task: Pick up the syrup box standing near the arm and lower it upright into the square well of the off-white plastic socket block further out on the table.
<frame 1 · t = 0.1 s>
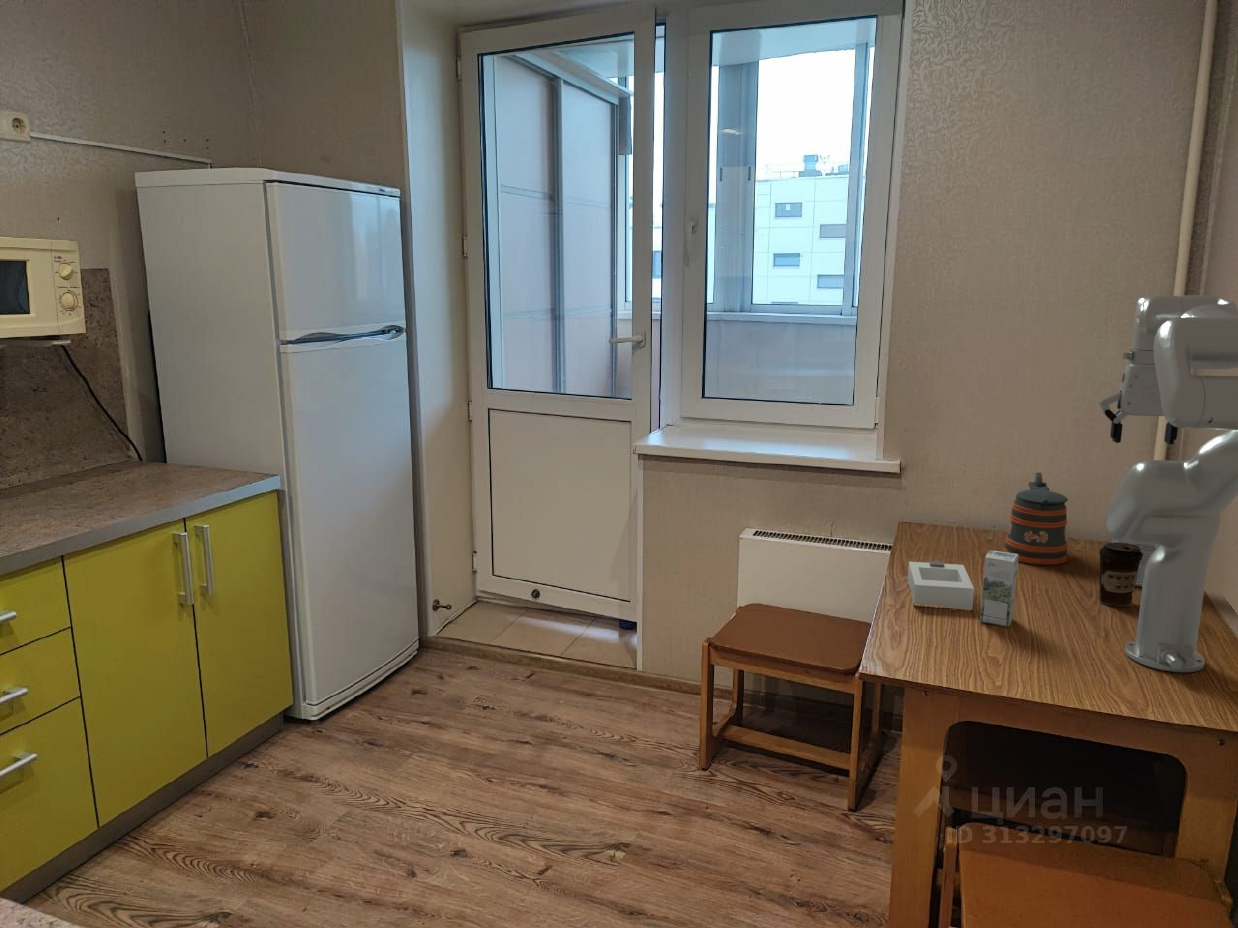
hand: (1142, 442, 177), 37 cm above the table, tool pointing down, fingers open, 9 cm apart
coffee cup: (1115, 603, 190), on the table
syrup box: (996, 621, 181), on the table
socket block: (938, 595, 196), on the table
beer stein: (1032, 555, 224), on the table
juice carton: (1132, 581, 203), on the table
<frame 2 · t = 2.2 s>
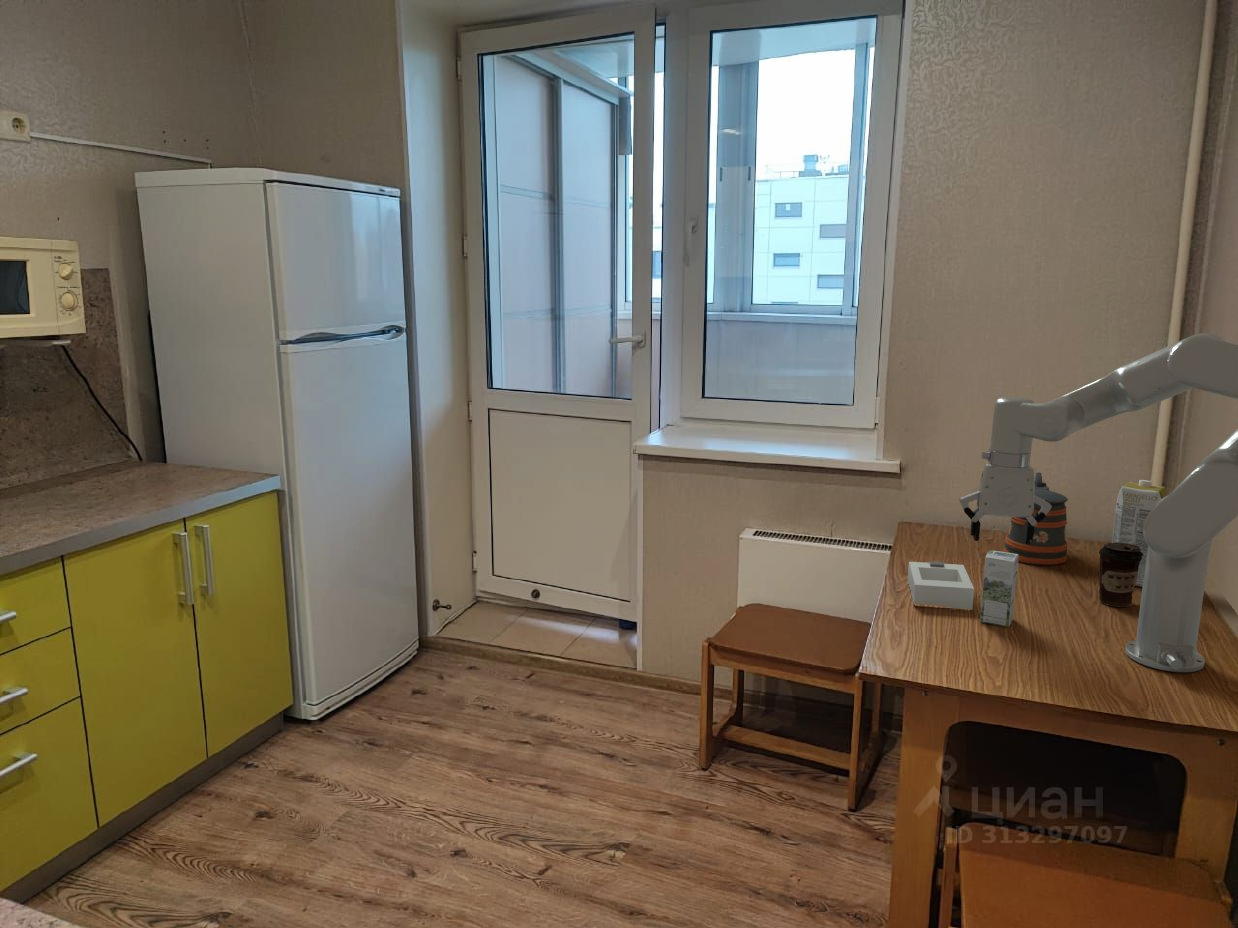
hand: (1000, 540, 178), 17 cm above the table, tool pointing down, fingers open, 9 cm apart
nothing on the table moved.
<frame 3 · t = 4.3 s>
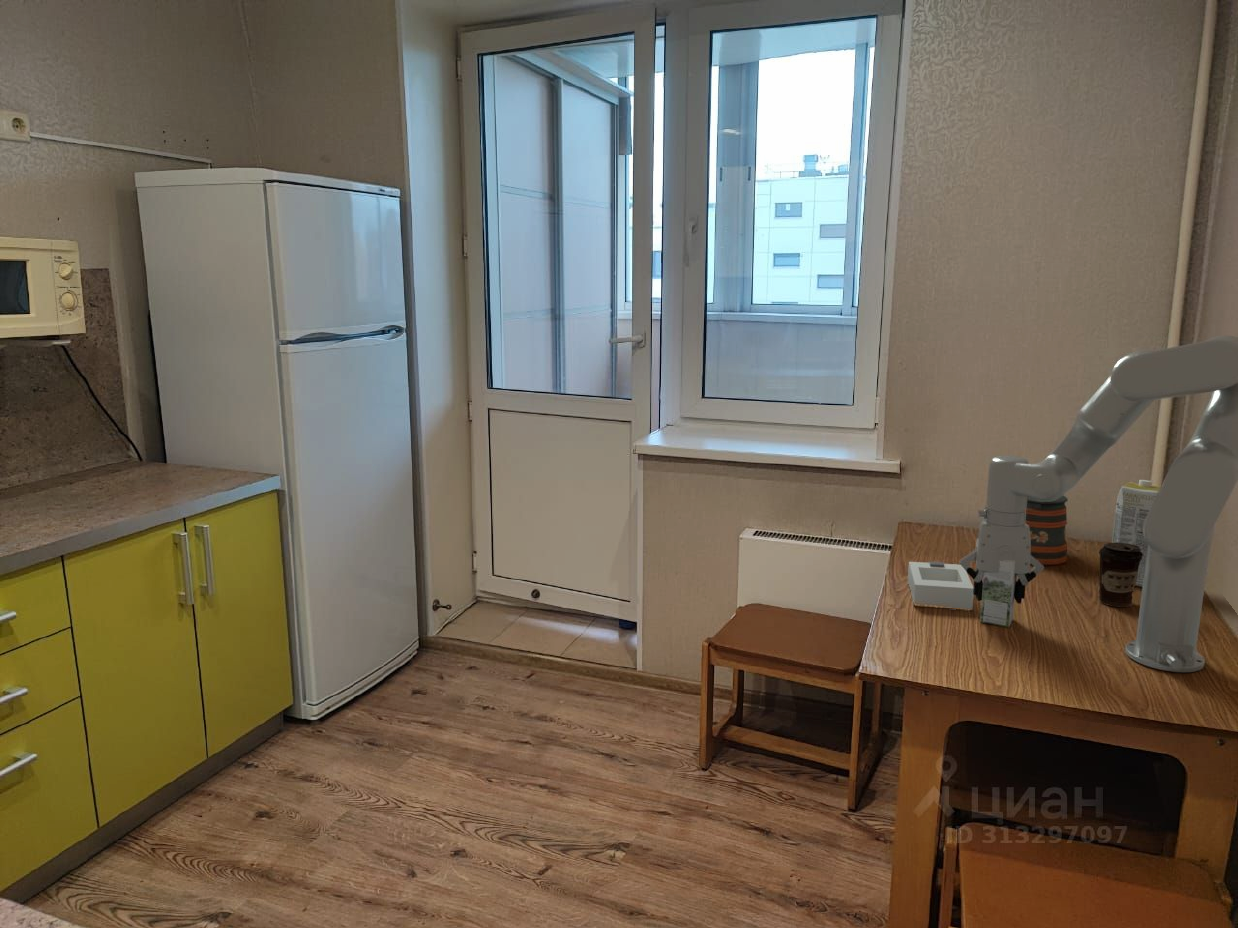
hand: (998, 599, 180), 5 cm above the table, tool pointing down, fingers closed on syrup box, 7 cm apart
syrup box: (996, 621, 181), on the table, touching gripper
everything else where it was.
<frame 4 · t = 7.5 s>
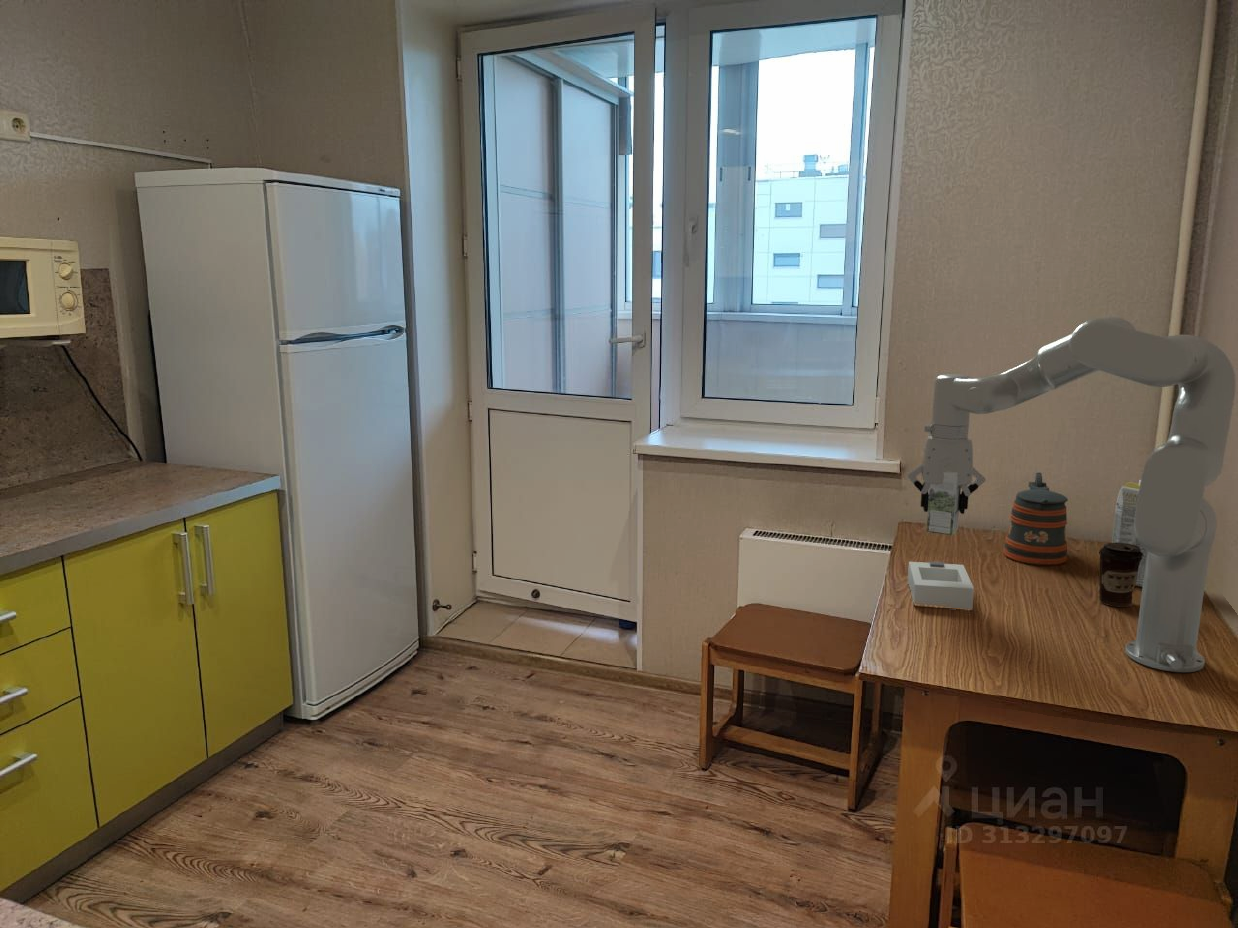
hand: (943, 510, 192), 20 cm above the table, tool pointing down, fingers closed on syrup box, 7 cm apart
syrup box: (941, 532, 193), point 15 cm above the table, touching gripper
everything else where it was.
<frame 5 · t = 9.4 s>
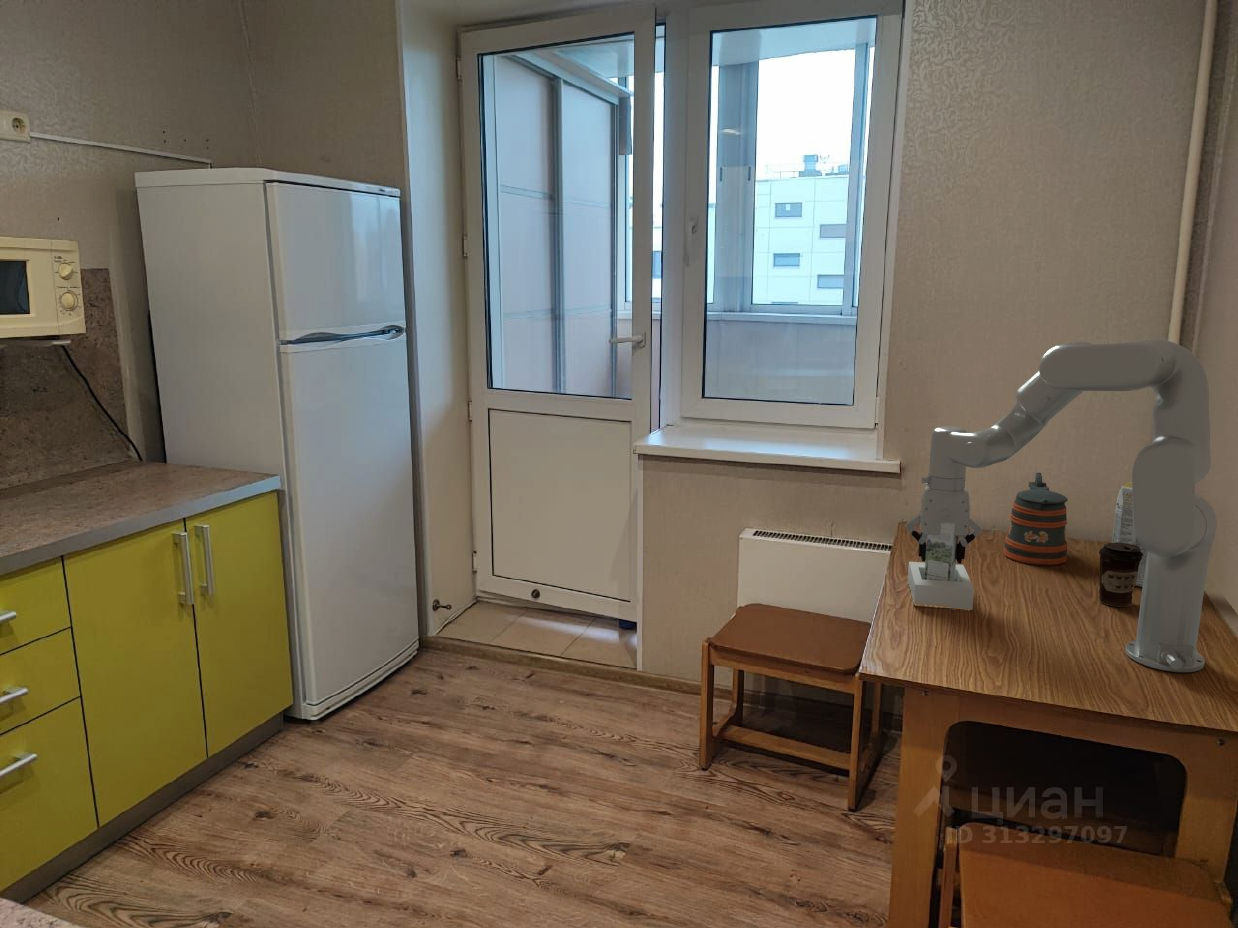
hand: (940, 560, 194), 8 cm above the table, tool pointing down, fingers closed on syrup box, 7 cm apart
syrup box: (939, 581, 195), point 3 cm above the table, touching gripper
everything else where it was.
when the fingers open (7 cm above the table, at t = 10.7 s): syrup box drops 2 cm, resting in socket block.
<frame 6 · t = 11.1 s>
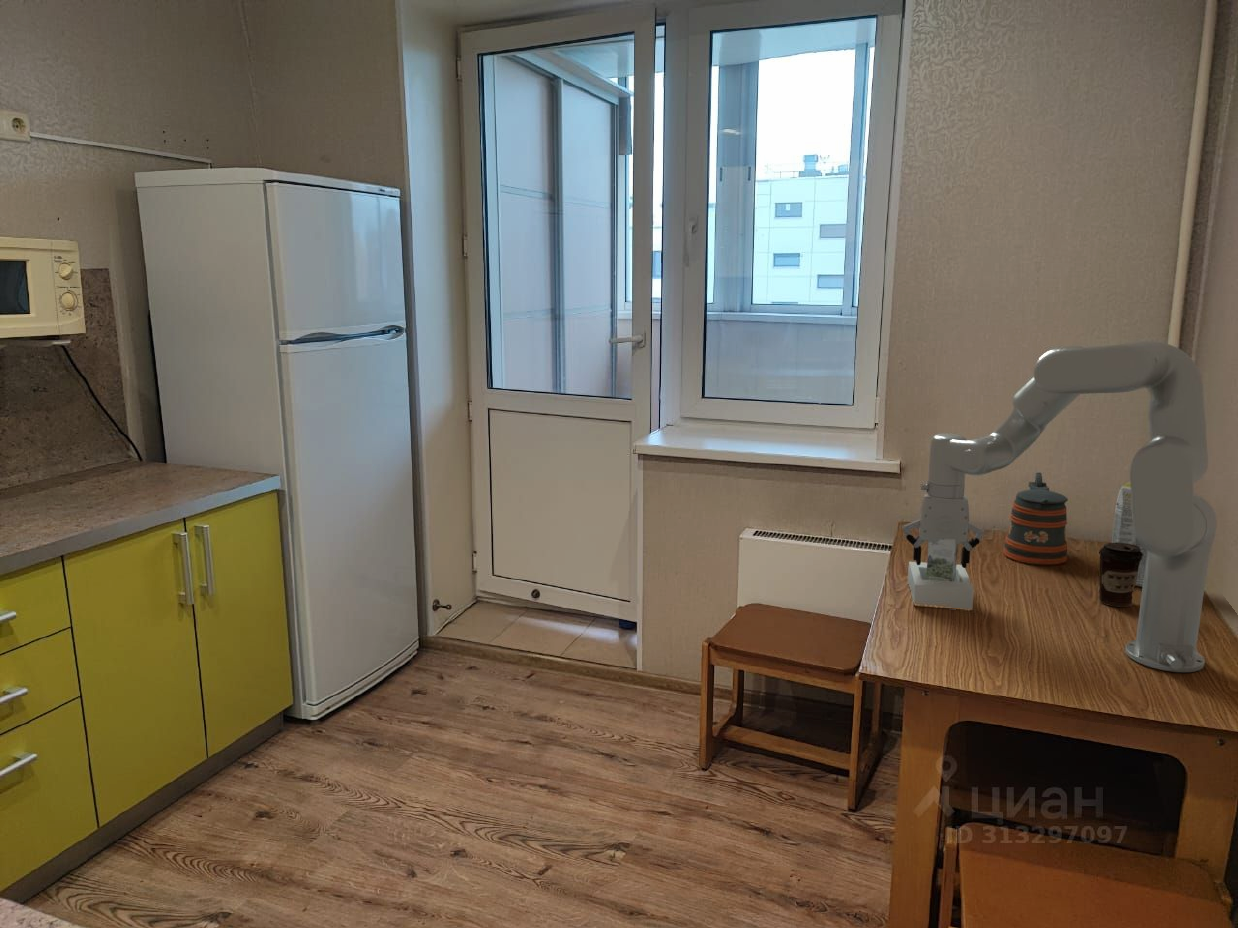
hand: (940, 564, 194), 7 cm above the table, tool pointing down, fingers open, 9 cm apart
syrup box: (939, 596, 196), resting in socket block
everything else where it was.
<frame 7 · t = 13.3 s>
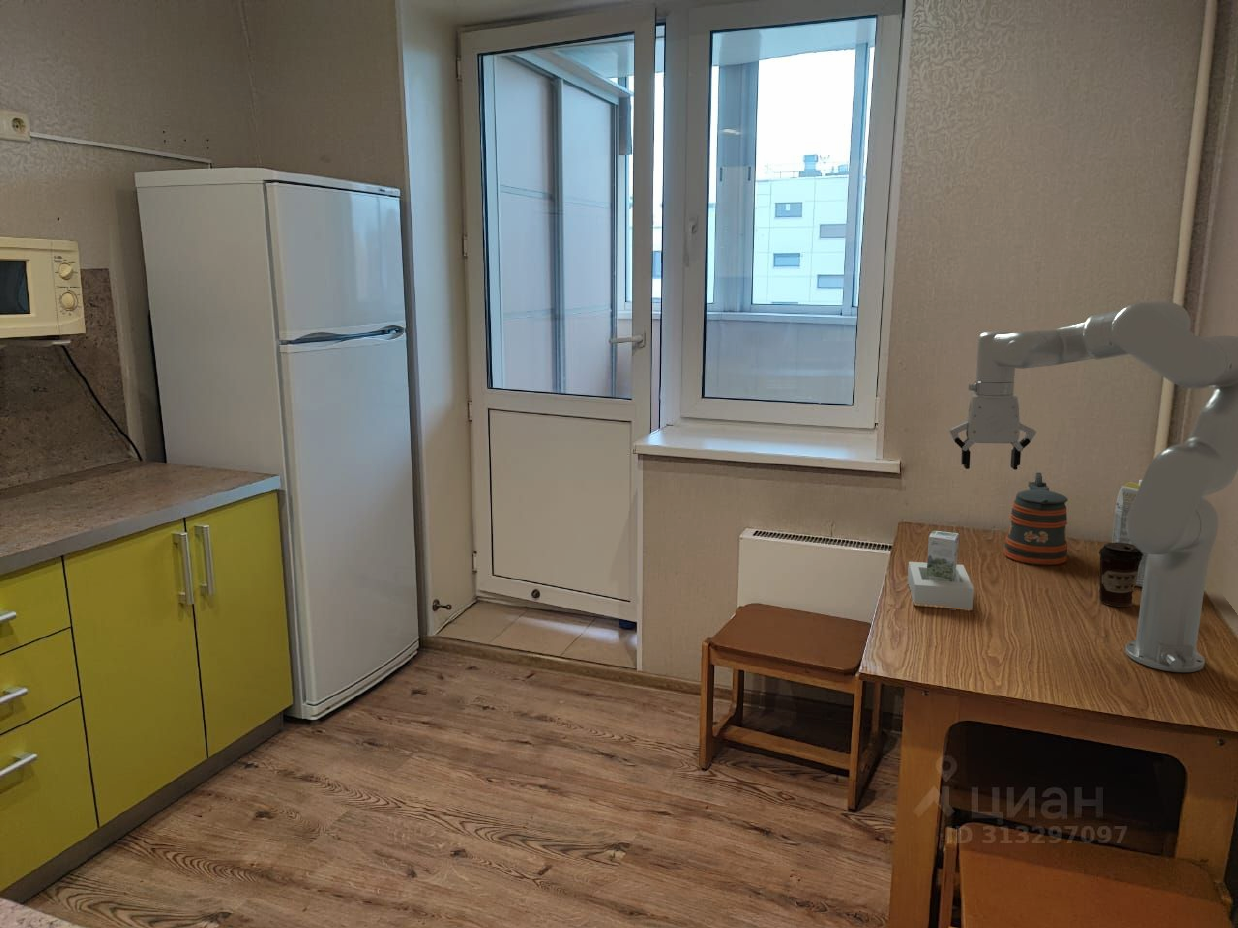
hand: (990, 468, 189), 29 cm above the table, tool pointing down, fingers open, 9 cm apart
nothing on the table moved.
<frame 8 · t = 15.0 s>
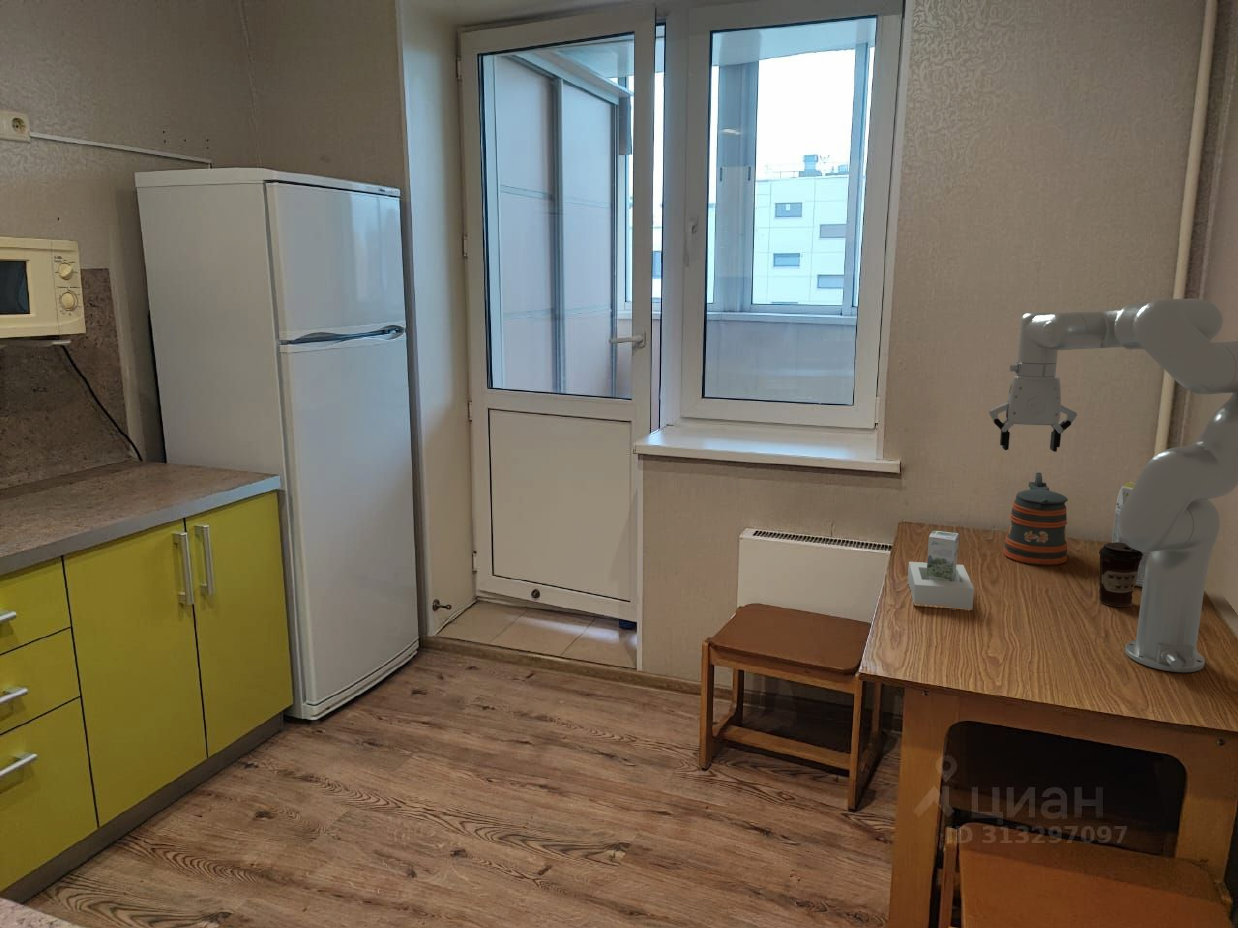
hand: (1029, 449, 189), 33 cm above the table, tool pointing down, fingers open, 9 cm apart
nothing on the table moved.
at the end: syrup box 0.3 cm off-centre on the socket block, point 0.0 cm above the socket block's base; syrup box tilted 0°; the gripper is holding nothing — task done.
